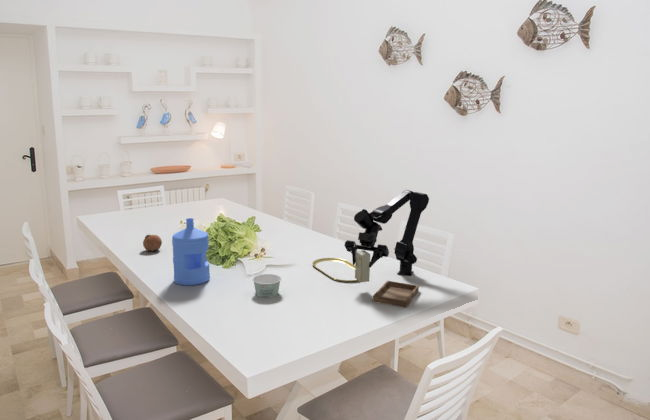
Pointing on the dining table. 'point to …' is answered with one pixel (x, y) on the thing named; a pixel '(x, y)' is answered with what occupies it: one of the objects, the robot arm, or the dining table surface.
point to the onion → (152, 242)
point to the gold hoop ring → (335, 260)
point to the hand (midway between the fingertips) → (361, 265)
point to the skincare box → (362, 266)
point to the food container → (266, 285)
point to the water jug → (190, 255)
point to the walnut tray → (396, 294)
